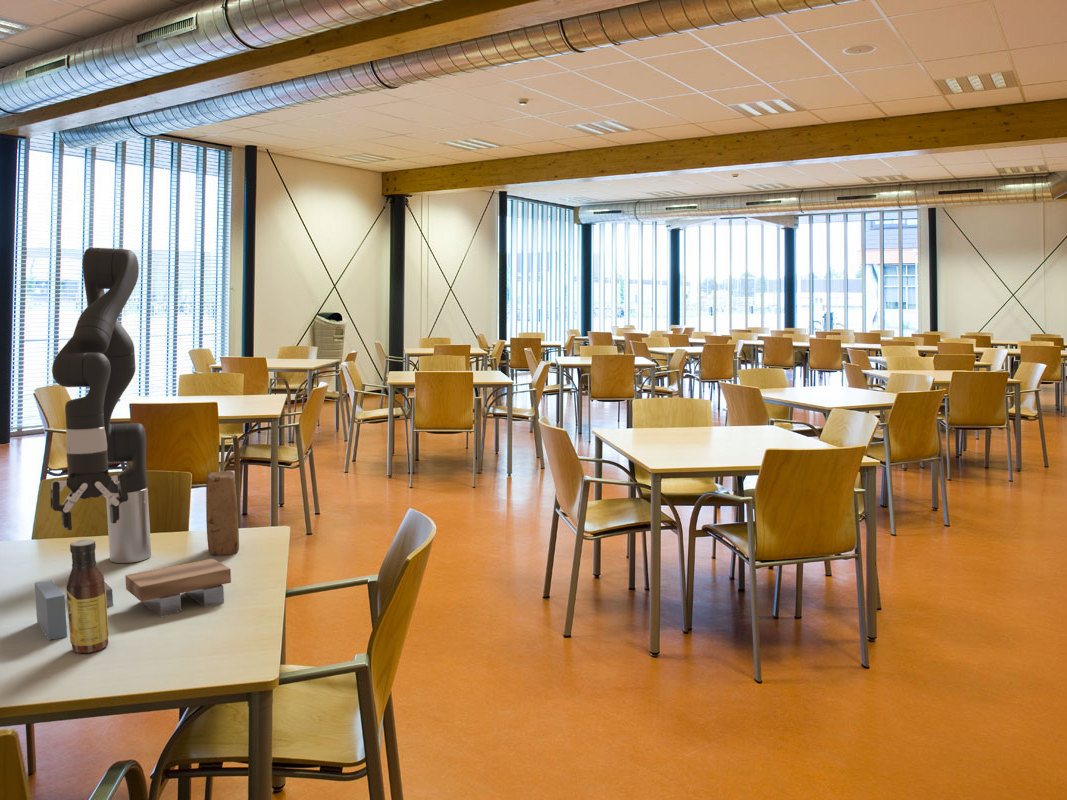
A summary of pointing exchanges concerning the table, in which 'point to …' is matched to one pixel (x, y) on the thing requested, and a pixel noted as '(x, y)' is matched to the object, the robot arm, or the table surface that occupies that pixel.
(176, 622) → the table surface
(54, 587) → the stop block
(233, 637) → the table surface
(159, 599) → the bar middle
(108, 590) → the bar loose
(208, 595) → the bar rear
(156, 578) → the slab
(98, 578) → the sauce bottle
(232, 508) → the block
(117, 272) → the robot arm
